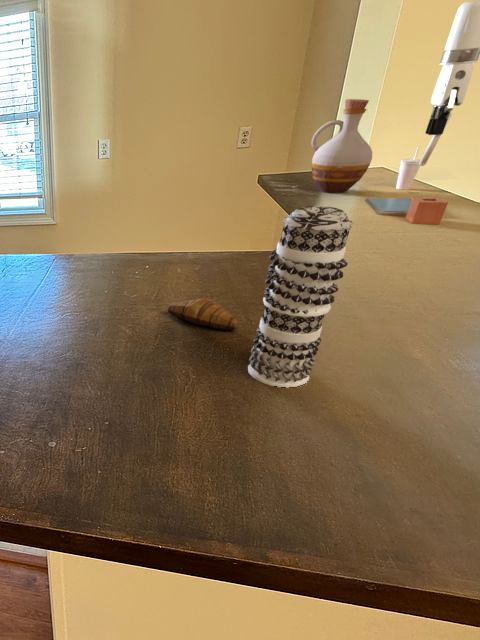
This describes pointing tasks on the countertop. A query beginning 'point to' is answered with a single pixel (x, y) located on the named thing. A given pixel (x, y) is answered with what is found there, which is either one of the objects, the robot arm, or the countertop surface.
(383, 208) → the tablet
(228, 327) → the croissant
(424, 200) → the pen stand
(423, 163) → the stylus
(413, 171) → the smoothie
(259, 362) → the decorative candle
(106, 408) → the countertop surface
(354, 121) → the jug
